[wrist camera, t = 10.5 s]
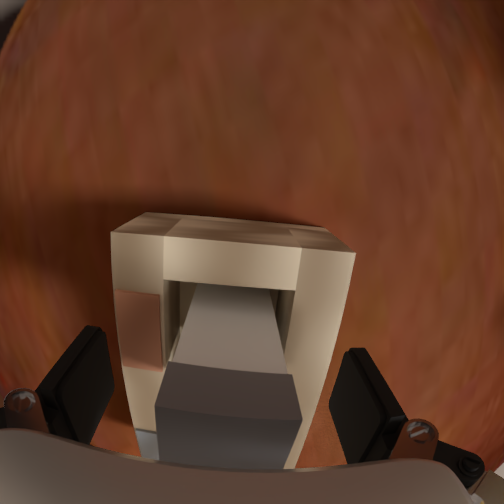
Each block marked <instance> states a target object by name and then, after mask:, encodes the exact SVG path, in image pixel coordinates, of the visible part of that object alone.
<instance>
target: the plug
mask: <svg viewBox="0 0 504 504" xmlns="http://www.w3.org/2000/svg"><path fill="white" fill-rule="evenodd" d="M154 408H155V421H156V432H157V442H158V451H159V459H160V461H166V462H173V463H180V464H188V465H197V466H207V467H219V468H237V469H283V468H284V465H285V463H286V461H287V458H288V456H289V453H290V451H291V449H292V446H293V444H294V441H295V439H296V436H297V434H298V431H299V429H300V426H301V424H302V421H303V418H302V414H301V409H300V405H299V401H298V397H297V392H296V388H295V384H294V380H293V375H292V374H288V372H287V368H286V363H285V359H284V354H283V350H282V345H281V341H280V336H279V332H278V327H277V323H276V318H275V314H274V309H273V305H272V300H271V296H270V291H269V289H268V288H255V287H242V286H230V285H218V284H207V283H198V284H197V287H196V290H195V293H194V296H193V299H192V302H191V305H190V308H189V311H188V314H187V317H186V320H185V323H184V326H183V329H182V332H181V336H180V339H179V342H178V345H177V348H176V351H175V355H174V358H173V361H172V362H171V361H168V364H167V367H166V370H165V373H164V376H163V379H162V383H161V386H160V389H159V392H158V395H157V399H156V402H155V405H154Z"/></svg>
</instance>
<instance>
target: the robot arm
mask: <svg viewBox="0 0 504 504" xmlns="http://www.w3.org/2000/svg"><path fill="white" fill-rule="evenodd" d="M113 392H114V379H113V374H112V369H111V363H110V357H109V351H108V345H107V339H106V334H105V332H102V329H101V328H100V327H95V326H89V325H87V326H86V327H85V328H84V329H83V330H82V331H81V333H80V334H79V335H78V336H77V337H76V339H75V340H74V341H73V342H72V344H71V345H70V346H69V347H68V349H67V350H66V351H65V352H64V354H63V355H62V356H61V357H60V359H59V360H58V361H57V362H56V364H55V365H54V366H53V368H52V369H51V370H50V371H49V373H48V374H47V375H46V377H45V378H44V379H43V381H42V382H41V383H40V385H39V386H38V388H37V389H36V390H35V392H34V391H33V390H31V389H27V388H18V389H15V390H13V391H11V392H10V393H9V394H8V395H7V396H6V397H5V400H4V407H2V408H0V504H504V479H503V478H502V477H500V476H498V475H497V474H495V473H494V472H492V471H491V470H489V471H488V472H486V471H484V470H485V466H484V462H483V461H482V459H481V458H480V457H479V456H478V455H476V454H474V453H471V452H469V451H466V450H463V449H460V448H457V447H455V446H452V445H449V444H447V443H444V442H442V441H439V440H438V438H439V433H438V430H437V429H436V427H435V426H434V425H433V424H432V423H430V422H428V421H426V420H423V419H412V420H408V418H407V417H406V415H405V413H404V412H403V410H402V408H401V406H400V405H399V403H398V401H397V400H396V398H395V396H394V395H393V393H392V391H391V390H390V388H389V386H388V385H387V383H386V381H385V380H384V378H383V376H382V375H381V373H380V371H379V370H378V368H377V366H376V365H375V363H374V362H373V360H372V358H371V357H370V355H369V354H368V352H367V350H366V349H365V348H350V349H349V351H346V352H345V353H344V356H343V360H342V363H341V366H340V370H339V373H338V376H337V379H336V382H335V385H334V388H333V391H332V394H331V397H330V400H329V410H330V412H331V415H332V418H333V421H334V424H335V427H336V430H337V433H338V436H339V439H340V442H341V445H342V448H343V451H344V455H345V458H346V461H347V464H346V465H337V466H326V467H314V468H297V469H237V468H219V467H207V466H197V465H188V464H180V463H173V462H166V461H160V460H154V459H148V458H143V457H138V456H133V455H128V454H124V453H119V452H115V451H111V450H107V449H103V448H99V447H95V446H91V445H89V444H90V442H91V440H92V437H93V435H94V433H95V431H96V428H97V426H98V424H99V422H100V420H101V417H102V415H103V413H104V411H105V409H106V407H107V404H108V402H109V400H110V398H111V396H112V394H113Z"/></svg>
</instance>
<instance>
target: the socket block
mask: <svg viewBox="0 0 504 504" xmlns="http://www.w3.org/2000/svg"><path fill="white" fill-rule="evenodd" d="M355 254H356V253H355V252H354V251H353V250H351V249H350V248H349V247H348V246H347V245H345V244H344V243H343V242H342V241H340V240H339V239H338V238H337V237H335V236H334V235H333V234H332V233H330V232H329V231H328V230H327V229H325V228H322V227H313V226H303V225H294V224H284V223H274V222H263V221H252V220H241V219H230V218H218V217H206V216H193V215H180V214H166V213H151V212H145V213H143V214H141V215H140V216H138V217H136V218H134V219H132V220H131V221H129V222H127V223H125V224H124V225H122V226H120V227H118V228H117V229H115V230H113V231H111V262H112V281H113V295H114V307H115V317H116V326H117V335H118V343H119V350H120V357H121V364H122V370H123V376H124V382H125V387H126V392H127V398H128V403H129V407H130V412H131V417H132V421H133V426H134V430H135V434H136V438H137V442H138V446H139V450H140V453H141V457H143V458H148V459H154V460H160V459H159V451H158V442H157V432H156V421H155V408H154V405H155V402H156V399H157V395H158V392H159V389H160V386H161V383H162V379H163V376H164V373H165V370H166V367H167V364H168V361H171V362H172V361H173V358H174V355H175V351H176V348H177V345H178V342H179V339H180V336H181V332H182V329H183V326H184V323H185V320H186V317H187V314H188V311H189V308H190V305H191V302H192V299H193V296H194V293H195V290H196V287H197V284H198V283H207V284H218V285H230V286H242V287H255V288H268V289H269V291H270V296H271V300H272V305H273V309H274V314H275V318H276V323H277V327H278V332H279V336H280V341H281V345H282V350H283V354H284V359H285V363H286V368H287V372H288V374H292V375H293V380H294V384H295V388H296V392H297V397H298V401H299V405H300V409H301V414H302V418H303V421H302V424H301V426H300V429H299V431H298V434H297V436H296V439H295V441H294V444H293V446H292V449H291V451H290V453H289V456H288V458H287V461H286V463H285V465H284V468H283V469H294V468H295V465H296V463H297V460H298V458H299V455H300V452H301V450H302V447H303V444H304V442H305V439H306V436H307V433H308V430H309V428H310V425H311V422H312V419H313V416H314V413H315V410H316V407H317V404H318V401H319V397H320V394H321V391H322V388H323V385H324V381H325V378H326V375H327V371H328V368H329V364H330V361H331V357H332V353H333V350H334V346H335V342H336V339H337V335H338V331H339V327H340V323H341V319H342V315H343V310H344V306H345V302H346V297H347V293H348V288H349V284H350V279H351V274H352V269H353V264H354V259H355Z"/></svg>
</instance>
